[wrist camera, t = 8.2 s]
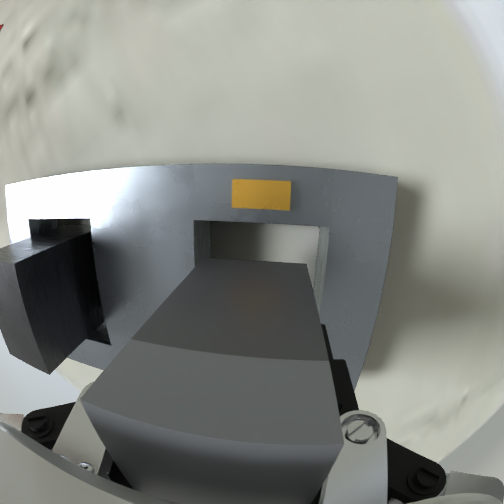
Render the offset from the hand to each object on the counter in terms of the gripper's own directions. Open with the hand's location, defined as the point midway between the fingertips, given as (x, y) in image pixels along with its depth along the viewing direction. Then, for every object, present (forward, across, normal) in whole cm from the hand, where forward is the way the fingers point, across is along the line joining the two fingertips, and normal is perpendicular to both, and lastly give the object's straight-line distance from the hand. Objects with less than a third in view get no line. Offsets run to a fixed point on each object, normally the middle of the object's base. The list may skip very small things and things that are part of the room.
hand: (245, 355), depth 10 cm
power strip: (+7, +6, 0) cm, 9 cm away
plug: (+2, 0, 0) cm, 2 cm away
